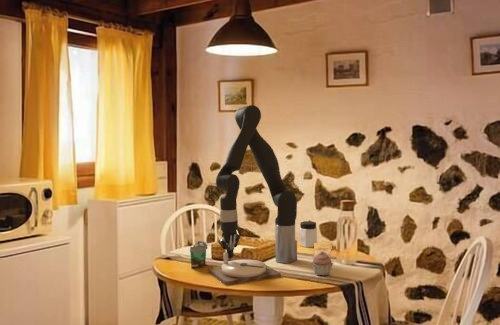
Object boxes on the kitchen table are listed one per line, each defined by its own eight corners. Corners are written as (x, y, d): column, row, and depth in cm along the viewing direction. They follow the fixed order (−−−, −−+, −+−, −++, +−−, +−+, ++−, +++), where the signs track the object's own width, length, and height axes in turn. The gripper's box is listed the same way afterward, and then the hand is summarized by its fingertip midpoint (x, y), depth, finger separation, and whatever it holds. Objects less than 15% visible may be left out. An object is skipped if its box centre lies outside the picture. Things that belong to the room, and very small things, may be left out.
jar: (296, 245, 284) (296, 222, 283) (308, 242, 289) (308, 220, 288) (308, 248, 277) (308, 225, 276) (320, 246, 282) (320, 223, 280)
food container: (203, 269, 242) (203, 247, 241) (190, 269, 243) (189, 247, 242) (211, 262, 254) (210, 241, 253) (198, 261, 255) (197, 240, 254)
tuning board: (260, 265, 248) (260, 261, 247) (280, 276, 229) (280, 272, 229) (208, 272, 237) (208, 268, 237) (225, 285, 219) (225, 281, 219)
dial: (248, 262, 246) (248, 247, 246) (275, 271, 231) (275, 255, 231) (213, 269, 235) (212, 254, 235) (238, 280, 220) (238, 263, 219)
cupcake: (307, 275, 231) (307, 252, 230) (317, 270, 239) (317, 247, 238) (327, 278, 226) (327, 255, 225) (337, 273, 233) (337, 250, 233)
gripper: (232, 215, 245) (233, 253, 247) (212, 221, 234) (213, 260, 236) (245, 217, 240) (246, 255, 242) (225, 223, 230) (227, 263, 232)
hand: (230, 258), depth 239 cm, fingers closed
